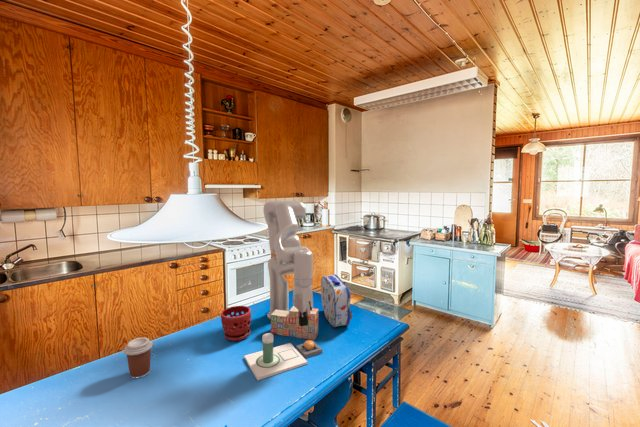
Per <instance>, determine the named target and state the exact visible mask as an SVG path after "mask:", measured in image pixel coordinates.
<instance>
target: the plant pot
mask: <svg viewBox="0 0 640 427" xmlns="http://www.w3.org/2000/svg"><path fill="white" fill-rule="evenodd" d="M232 313H233V314H232ZM220 322H221V325H222V329H223V331H224V334H223V335H224V338H225V339H226V340H228V341H232V342H237V341H242V340H244V339H246V338H248V337H249V336H250V334H251V328H250V326H251V322H252V309H251V308H250V307H249V306H246V305H233V306H230V307H227V308H225V309H223V310H222V311H221V312H220Z"/></svg>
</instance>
